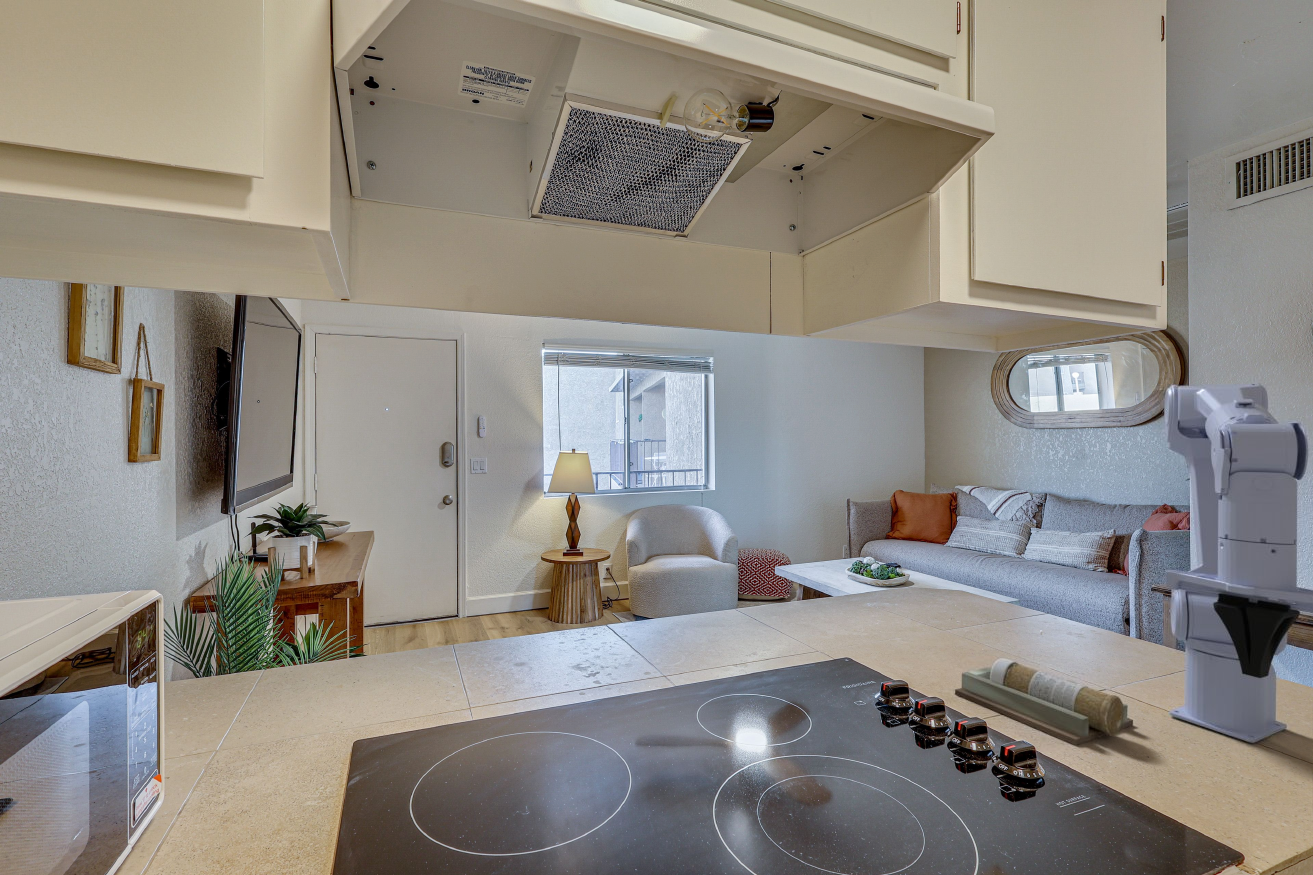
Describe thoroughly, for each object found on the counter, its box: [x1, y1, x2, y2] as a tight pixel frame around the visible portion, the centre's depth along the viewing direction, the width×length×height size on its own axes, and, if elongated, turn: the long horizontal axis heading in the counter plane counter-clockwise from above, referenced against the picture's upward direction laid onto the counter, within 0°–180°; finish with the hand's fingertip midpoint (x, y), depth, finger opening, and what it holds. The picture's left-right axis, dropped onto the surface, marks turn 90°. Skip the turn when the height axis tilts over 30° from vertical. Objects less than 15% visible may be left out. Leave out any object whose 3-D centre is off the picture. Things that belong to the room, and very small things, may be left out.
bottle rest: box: [954, 665, 1134, 746], centre depth 77 cm, size 12×15×3 cm
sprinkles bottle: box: [990, 657, 1124, 736], centre depth 74 cm, size 5×5×13 cm
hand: (1255, 674), depth 61 cm, fingers closed
